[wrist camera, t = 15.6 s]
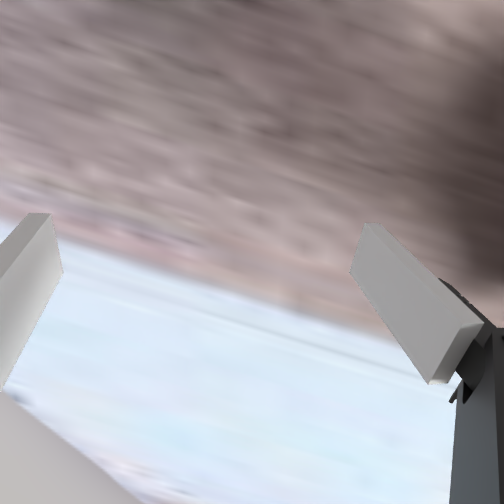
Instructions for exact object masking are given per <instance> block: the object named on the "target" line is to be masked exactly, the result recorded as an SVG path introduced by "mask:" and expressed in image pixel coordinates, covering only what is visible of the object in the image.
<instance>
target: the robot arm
mask: <svg viewBox="0 0 504 504" xmlns="http://www.w3.org/2000/svg"><path fill="white" fill-rule="evenodd" d="M349 273H350V274H351V276H352V277H353V278H354V280H355V281H356V283H357V284H358V286H359V287H360V288H361V290H362V291H363V293H364V294H365V296H366V297H367V298H368V300H369V301H370V303H371V304H372V306H373V307H374V308H375V310H376V311H377V313H378V314H379V316H380V317H381V319H382V320H383V321H384V323H385V324H386V326H387V327H388V329H389V330H390V331H391V333H392V334H393V336H394V337H395V339H396V340H397V341H398V343H399V344H400V346H401V347H402V349H403V350H404V351H405V353H406V354H407V356H408V357H409V359H410V360H411V361H412V363H413V364H414V366H415V367H416V369H417V370H418V371H419V373H420V374H421V376H422V377H423V379H424V380H425V381H426V383H427V384H428V385H433V384H446V383H448V382H449V380H450V379H451V377H452V375H453V374H454V372H455V371H456V372H457V373H458V374H459V376H460V377H461V378H462V380H461V382H460V384H459V385H458V387H457V388H456V390H455V392H454V393H453V395H452V396H451V398H450V400H449V402H450V403H453V402H454V400H455V399H457V406H456V419H455V433H454V446H453V460H452V473H451V487H450V500H449V504H504V328H497V327H496V326H494V325H493V324H492V323H491V322H490V321H489V320H488V319H487V318H486V317H485V316H484V315H483V314H482V313H480V312H479V311H478V310H477V309H476V308H475V307H474V306H473V305H472V304H469V301H468V300H466V299H465V298H464V297H462V296H461V294H460V293H459V292H458V291H457V290H456V289H455V288H454V287H452V286H451V285H450V284H448V283H446V282H445V281H443V280H441V279H440V278H437V277H436V276H435V275H434V274H432V273H431V272H430V271H429V270H428V269H427V268H426V267H425V266H424V265H423V264H422V263H421V262H420V261H419V260H418V259H417V258H416V257H415V256H414V255H413V254H411V253H410V252H409V251H408V250H407V249H406V248H405V247H404V246H403V245H402V244H401V243H400V242H399V241H398V240H397V239H396V238H395V237H394V236H393V235H391V234H390V233H389V232H388V231H387V230H386V229H385V228H384V227H383V226H382V225H381V224H380V223H364V226H363V230H362V233H361V236H360V239H359V243H358V246H357V249H356V252H355V256H354V259H353V262H352V265H351V268H350V272H349ZM62 275H63V268H62V264H61V259H60V254H59V249H58V244H57V239H56V235H55V230H54V225H53V220H52V215H51V214H43V213H29V214H28V215H27V216H26V217H25V218H24V219H23V220H22V221H21V223H20V224H19V225H18V226H17V227H16V228H15V229H14V230H13V231H12V232H11V234H10V235H9V236H8V237H7V238H6V239H5V240H4V241H3V242H2V243H1V245H0V392H1V390H2V388H3V386H4V384H5V383H6V381H7V379H8V377H9V375H10V373H11V371H12V369H13V367H14V365H15V364H16V362H17V360H18V358H19V356H20V354H21V352H22V350H23V348H24V347H25V345H26V343H27V341H28V339H29V337H30V335H31V333H32V331H33V329H34V328H35V326H36V324H37V322H38V320H39V318H40V316H41V314H42V312H43V311H44V309H45V307H46V305H47V303H48V301H49V299H50V297H51V295H52V293H53V292H54V290H55V288H56V286H57V284H58V282H59V280H60V278H61V276H62Z"/></svg>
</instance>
